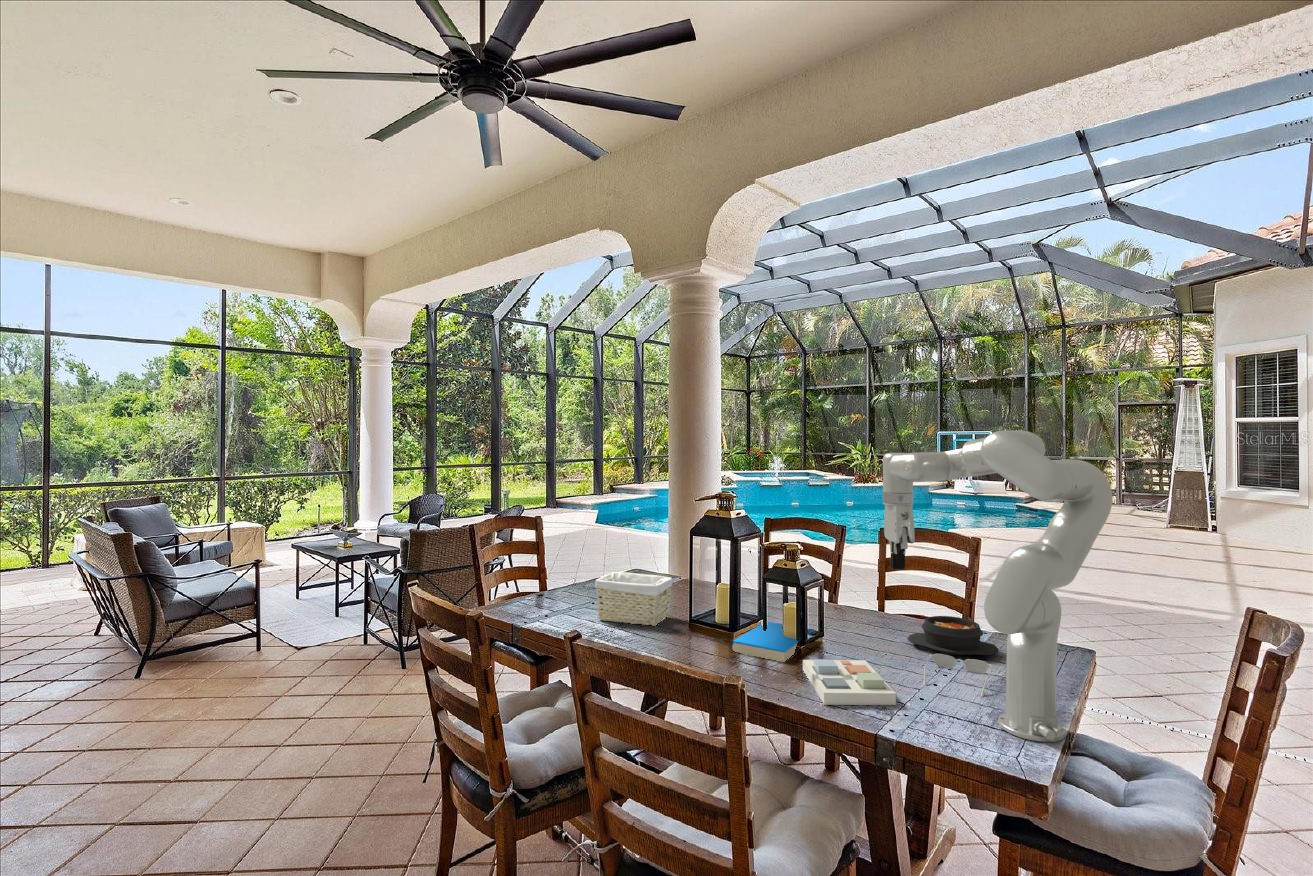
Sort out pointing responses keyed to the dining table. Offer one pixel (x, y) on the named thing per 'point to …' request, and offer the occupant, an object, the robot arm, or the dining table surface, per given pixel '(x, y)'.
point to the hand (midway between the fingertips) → (897, 568)
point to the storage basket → (633, 598)
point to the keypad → (855, 692)
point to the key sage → (870, 681)
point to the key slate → (835, 683)
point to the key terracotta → (857, 669)
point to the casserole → (952, 636)
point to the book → (766, 643)
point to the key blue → (825, 667)
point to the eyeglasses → (969, 664)
